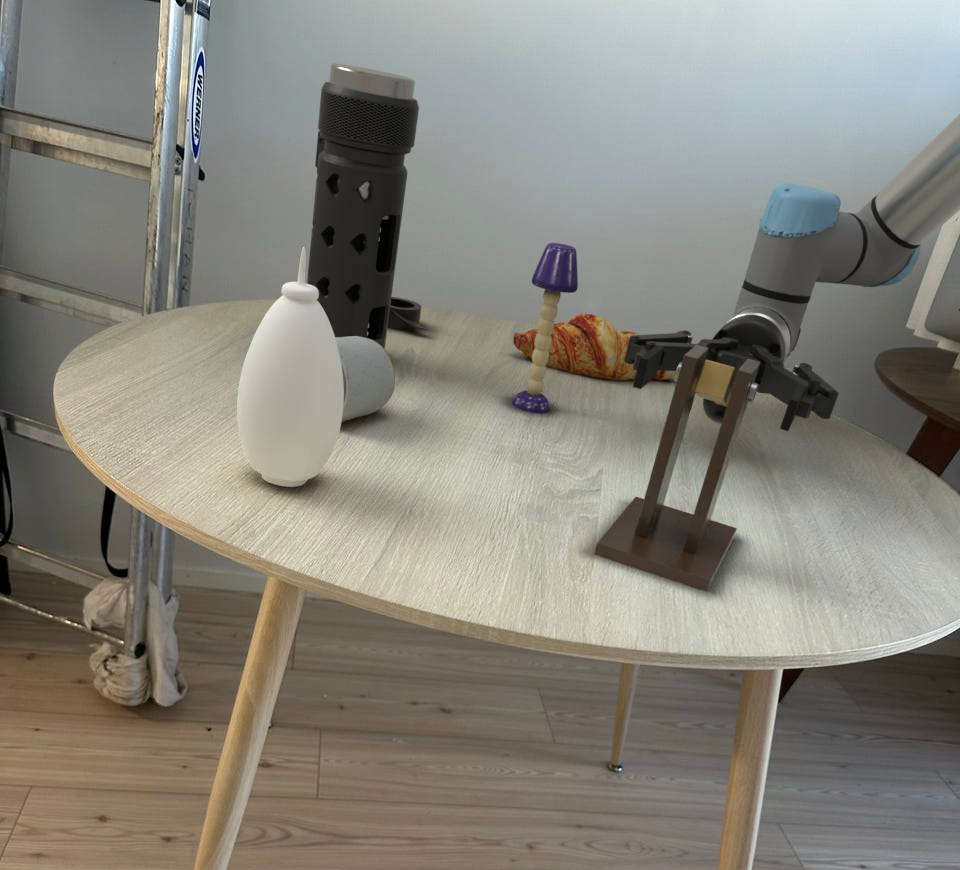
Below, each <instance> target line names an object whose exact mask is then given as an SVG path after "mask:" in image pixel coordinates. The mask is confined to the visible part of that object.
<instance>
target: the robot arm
mask: <svg viewBox="0 0 960 870" xmlns="http://www.w3.org/2000/svg"><path fill="white" fill-rule="evenodd" d="M841 206H842V201H841V197H840V196H839V195H838V194H836V193H834V192H830V191H828V190H824V189H821V188H815V187H812V186H806V185H800V184H796V183H788V182H785V183H780V184H778V185H776V186H775V187H774V188H772V191H771V193H770V196H769V198H768V201H767V203H766V206H765V208H764V212H763V214H762V217H761V218H760V220H759V224H758V226H759V228H758V230H757V234H756V238H755V242H754V244H753V248H752V251H751V255H750V259H749V262H748V266H747V269H746V272H745V275H744V280H743V284H742V286H741V288H740V292H739V294H738V298H737V301H736V305H735V308H734V312H733V315H732V317H731V318H730V319H729V320H728V321H727V322H726V323H725V324H724V325H723V326H722V327H721V328H720V329H719V330H718V331H717V332H716V333H715V334H714V336H713V337H712V339H711V338H703V339H700V341H699V342H696V341H693V338H694V337H693V336H692V332H690V331H688V330H686V329H685V330H679V331H677V332H669V333H651V334H638V335H632V336H630V339H629V343H628V347H627V351H626V355H625V359H624V361H625V362H626V363H628V364H634V366H633V369H634V370H637V373H636V376H635V380H633V381H634V382H633V384H632V388H635V389H637V390H638V389H639V390H642V389H643V388H644V387H645V386H646V385H647V384H648V383H650V381H652V380H654V379H653V378H654V377H655V376H656V375H657V372H658V371H676V370H677V367H678V365H679V363H680V362H681V363H682V361H683V358H684V355H685V354H686V353H688V352H689V351H690V350H691V349H692V348H693V347H694V346H696V345H700V346H703V347H707V348H708V352H707V356H706V359H705V360H710V361H713V362H717V363H720V364H724V365H728V366H731V367H734V368H735V371H736V375H737V372H738V370H739V369H740V368H741V366H742V365H743V364H744V363H745V362H746V360H747V359H751V360H755V361H759V362H760V366H759V369H758V372H757V375H756V378H755V382H754V383H757V384H758V389H757V392H756V393H759V394H765V395H766V394H767V395H771V396H773V397H774V398H775V399H777V400H779V401H780V402H782V403H784V405H787V407H786V409H785V413H784V416H783V419H782V421H781V425H780V427H779V429H780V430H783V431H785V432H789V431H790V429H791V427H792V425H793V424H794V423H793V422H794V420H795V418H796V417H799V418H803V419H808V418H810V415H811V413H812V412H813V413H814V414H815V415H816V416H818V417H819V418H820V419H823V420H829V419H831V416H832V414H833V410H834V407H835V406H836V403H837V399H838V397H839V394H840V392H839V391H838V390H836V389H835V388H834V387H833V386H831V384H829V383H828V382H827V381H825V379H823V378H822V377H820V375H818V374H817V372H815V371H813V366H812V365H810V364H809V363H807V362H800V363H799V364H794V366H793V368H790V367H786V366H785V362H786V360H787V358H788V357H789V356H790V355H791V353H792V352H793V351H795V349H796V347H797V344H798V342H799V340H800V339H799V338H800V335H801V331H802V329H801V325H802V323H803V320H804V316H805V314H806V311H807V307H808V304H809V303H810V301H811V296H812V293H813V290H814V287H815V285H816V283H822V284H838V285H848V286H859V287H862V288H877V287H883V286H884V287H885V286H892V285H895V284H898V283H899V282H901V281H903V280H905V279H906V278H907V277H908V276H909V275H910V274H911V273H912V271H914V268H915V265H916V264H917V262H918V260H919V258H920V255H921V248H922V246H921V245H922V244H923V243H924V242H925V241H926V240H928V239H929V238H930V237H931V236H932V235H933V234H935V232H937V231H938V230H939V229H940V228H941V227H942V226H943V225H944V224H946V223H947V222H948V221H949V220H951V219H952V218H953V217H954V216H955V215H956V214H957V213H958V212H959V211H960V113H959V114H958V115H957V116H956V117H954V119H953V120H952V121H951V122H950V123H949V124H948V125H946V126H945V127H944V128H943V129H942V130H941V131H940V132H939V133H938V134H937V135H936V136H935V137H934V138H933V139H932V140H931V141H930V142H929V143H928V144H927V145H926V146H925V147H924V148H923V149H922V150H921V151H920V152H919V153H918V154H917V155H915V157H913V159H912V160H911V161H910V162H908V164H906V165H905V166H904V167H903V169H901V171H899V172H898V173H897V174H896V175H895V176H894V177H893V178H892V180H890V181H889V182H888V183H887V184H886V185H885V186H884V187H883V188H882V189H881V190H880V191H879V192H878V193H877V194H876V195H875V196H874V197H872V198H871V200H869V201H868V202H867V203H866V204H865V205H864V206H863V207H862V208H861V209H860V210H859V211H857V212H845V211H841V210H840V209H841ZM735 379H736V377H735ZM734 382H735V380H734Z"/></svg>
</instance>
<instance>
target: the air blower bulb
mask: <svg viewBox="0 0 960 870" xmlns="http://www.w3.org/2000/svg"><path fill="white" fill-rule="evenodd" d="M300 253H301V254H300V260H299V267H298V273H297V275H298V276H297V281H288V282H285V283H284V284H283V285H282V287H281V296H280V297H279V298H278V299H277V300H275V302H274V303H273V304H272V305H271V306H270V307H269V309H268V310H267V311H266V313H265V315H264V316H263V318H262V320H261V322H260V323H259V325H258V326H257V329H256V331H255V333H254V336H253V338H252V340H251V342H250V345H249V347H248V350H247V351H246V352H247V353H246V355H245V359H244V361H243V365H242V368H241V372H240V377H239V383H238V388H237V396H236V397H237V399H236V418H237V419H236V421H237V422H236V423H237V430H238V434H239V440H240V443H241V446H242V449H243V452H244V455H245V457H246V459H247V461H248V463H249V466H250V467H251V468H252V469H253V470H254V471H255V472H256V473H259V474H261V478H262V479H263V480H264V481H265V482H267V483H269V484H271V485H275V486H279V487H285V488H296V487H301V486H303V485H305V484H306V483H307V482H308V480H311V479H313V478H315V477H316V476H317V475H319V474H320V472H321V471H322V470H323V468H324V467H325V466H326V464H327V462H328V461H329V459H330V457H331V455H332V454H333V452H334V449H335V447H336V444H337V442H338V439H339V436H340V432H341V428H342V427H341V426H342V422H341V421H342V414H343V402H344V385H343V373H342V366H341V360H340V355H339V350H338V346H337V342H336V339H335V336H334V332H333V330H332V327H331V324H330V322H329V319H328V317H327V315H326V313H325V311H324V309H323V308H322V306H321V305H320V303H319V302H318V301H317V300H316V299H318V297H319V291H318V289H317V288H316V287H315V286H312V285H310V284H307V282H306V266H307V264H306V263H307V262H306V261H307V257H306V255H307V253H306V248H305V247H304V246H303V247H302V249H301V252H300Z"/></svg>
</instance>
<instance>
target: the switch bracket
mask: <svg viewBox="0 0 960 870" xmlns="http://www.w3.org/2000/svg"><path fill="white" fill-rule="evenodd" d="M707 352H708V348H707V347H703V346H700V345H696V346H694V347H693V348H692V349H691V350H690V351H689V352H688V353H686V354H685V355H684V358H683V361H682V363H681V362H680V363H679V365H678V367H677V370H676V373H675V376H674V377H673V381H674V382H676V383H675V387H674V390H673V394H672V397H671V402H670V405H669V408H668V411H667V416H666V419H665V423H664V426H663V430H662V434H661V437H660V440H659V445H658V448H657V452H656V455H655V459H654V463H653V466H652V470H651V473H650V477H649V480H648V483H647V488H646V491H645V494H644V498H642V497H639V496H634V498H633V499H632V500H631V502H630V503H629V504H628V505H627V507H626V508H625V509H624V510H623V511H622V512H621V514H620V515H619V516H618V517H617V519H616V520H615V521H614V522H613V523H612V525H611V526H610V527H609V528H608V529H607V530H606V532H605V533H604V534H603V535H602V537H601V538H600V539H599V540H598V541H597V543H596V546H595V549H594V553H593V554H594V556H597V557H601V558H604V559H607V560H610V561H613V562H616V563H618V564H622V565H625V566H628V567H631V568H634V569H637V570H640V571H643V572H646V573H649V574H652V575H655V576H658V577H661V578H664V579H667V580H670V581H673V582H676V583H679V584H682V585H685V586H688V587H691V588H694V589H696V590H700V591H703V592H705V593H706V592H708V591H709V589H710V587H711V584H712V583H713V581H714V578H715V576H716V575H717V573H718V570H719V569H720V567H721V564H722V563H723V561H724V559H725V557H726V555H727V553H728V550H729V549H730V547H731V545H732V543H733V541H734V539H735V536H736V532H737V530H738V528H737V527H734V526H732V525H728V524H724V523H721V522H719V521H715V520H712V517H713V514H714V510H715V507H716V505H717V501H718V497H719V496H720V492H721V490H722V489H721V488H722V486H723V482H724V479H725V476H726V472H727V470H728V467H729V463H730V461H731V456H732V455H733V451H734V448H735V444H736V441H737V438H738V435H739V432H740V428H741V426H742V423H743V420H744V416H745V413H746V410H747V407H748V404H749V403H753V402H754V401H755V398H756V395H757V393H758V392H757V389H758V384H757V383H754V382H755V378H756V375H757V372H758V369H759V366H760V362H759V361H755V360H751V359H747V360H746V362H745V363H744V364H743V365H742V366H741V368H740V369H739V370H738V372H737V375H736V379H735V382H734V385H733V388H732V392H731V395H730V398H729V401H728V405H727V408H726V411H725V414H724V418H723V421H722V424H720V428H719V431H718V435H717V437H716V440H715V443H714V447H713V451H712V454H711V457H710V460H709V464H708V467H707V469H706V473H705V477H704V480H703V483H702V486H701V489H700V493H699V496H698V499H697V503H696V506H695V509H694V511H693V514H692V513H689V512H687V511H683V510H680V509H678V508H674V507H670V506H667V505H664V504H665V501H666V497H667V493H668V490H669V487H670V483H671V479H672V476H673V473H674V469H675V466H676V462H677V460H678V455H679V452H680V449H681V445H682V443H683V438H684V435H685V432H686V428H687V424H688V421H689V418H690V414H691V412H692V407H693V404H694V400H695V398H696V397H695V396H696V395H697V394H696V392H695V390H696V387H697V384H698V381H699V378H700V375H701V372H702V369H703V366H704V363H705V359H706V356H707Z"/></svg>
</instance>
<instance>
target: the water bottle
mask: <svg viewBox="0 0 960 870" xmlns="http://www.w3.org/2000/svg"><path fill="white" fill-rule="evenodd" d="M329 72H330V74H329V81H325V82H324V83H323V85H322V87H321V89H320V102H319V111H318V112H319V113H318V123H317V130H318V132H317V141H316V153H315V164H314V167H316V168H317V169H316V175H317V176H316V179H315V191H314V199H313V201H314V202H313V214H312V229H311V234H310V235H311V236H310V244H309V245H310V247H309V256H308V257H309V258H308V268H307V282H306V284H310V285H312V286H315V287H316V288H317V289H318V291H319V297H318V299H316V300H317V301H318V302H319V303H320V305H321V306H322V308H323V309H324V311H325V313H326V315H327V317H328V319H329V322H330V324H331V327H332V330H333V332H334V336H335V337H348V336H359V337H364V338H368V339H371V340H374V341H375V342H377V343H378V344H380V345H381V346H382V347H383V348H384V349H385V350H386V342H387V334H388V328H387V327H388V319H389V312H390V304H391V297H393V296H392V295H393V288H394V281H395V280H394V279H395V272H396V265H397V257H398V250H399V241H400V235H401V226H402V221H403V220H402V218H403V211H404V203H405V196H406V188H407V180H408V169H407V167H406V166H405V158H406V155H407V154H411V152H412V148H414V147H415V142H416V141H415V140H416V134H417V128H418V127H417V126H418V119H419V111H420V106H419V102H418V99H417V98H414V95H415V93H414V92H415V86H416V81H415V80H414V79H413V78H411V77H407V76H403V75H399V74H395V73H391V72H386V71H381V70H376V69H371V68H367V67H361V66H355V65H351V64H343V63H331V64H330V71H329Z"/></svg>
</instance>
